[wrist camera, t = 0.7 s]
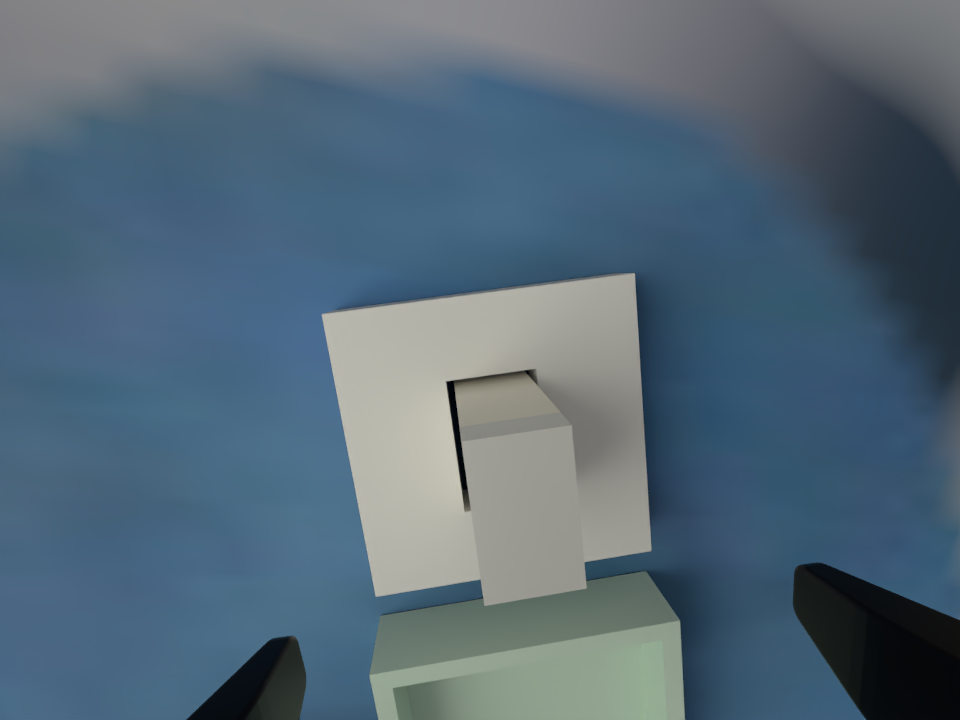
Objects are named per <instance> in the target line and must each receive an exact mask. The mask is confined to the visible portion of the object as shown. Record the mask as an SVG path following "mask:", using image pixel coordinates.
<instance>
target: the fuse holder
mask: <svg viewBox="0 0 960 720" xmlns="http://www.w3.org/2000/svg"><path fill="white" fill-rule="evenodd" d="M322 318H323V324H324V329H325V334H326V339H327V344H328V350H329V355H330V360H331V365H332V371H333V376H334V381H335V386H336V391H337V397H338V402H339V407H340V412H341V417H342V423H343V428H344V433H345V438H346V443H347V449H348V454H349V459H350V464H351V469H352V475H353V480H354V485H355V490H356V496H357V501H358V506H359V511H360V516H361V522H362V527H363V532H364V537H365V542H366V548H367V553H368V558H369V563H370V568H371V574H372V579H373V584H374V589H375V594H376V597H378V596H384V595H390V594H396V593H402V592H408V591H414V590H420V589H426V588H432V587H438V586H444V585H450V584H456V583H462V582H468V581H474V580H480V579H481V578H480V571H479V564H478V557H477V550H476V543H475V536H474V529H473V522H472V514H471V507H470V500H469V493H468V489H466V490H462V483H461V476H460V469H459V462H458V455H457V448H456V441H455V434H454V427H453V420H452V413H451V406H450V399H449V392H448V385H447V381H452V380H460V379H467V378H474V377H481V376H488V375H495V374H502V373H509V372H516V371H523V370H528V371H529V377H530V378H531V379H532V380H533V381H534V382H535V383H536V385H537V386H538V387H539V388H540V389H541V390H542V392H543V393H544V394H545V395H546V396H547V397H548V398H549V400H550V401H551V402H552V403H553V404H554V405H555V406H556V408H557V409H558V410H559V411H560V412H561V413H562V415H563V416H564V417H565V418H566V419H567V420H568V421H569V423H570V424H571V425H572V433H573V444H574V455H575V466H576V477H577V488H578V499H579V510H580V520H581V531H582V542H583V553H584V562H588V561H594V560H600V559H606V558H612V557H618V556H624V555H630V554H636V553H642V552H648V551H651V534H650V518H649V501H648V485H647V468H646V452H645V435H644V419H643V402H642V385H641V369H640V352H639V336H638V319H637V303H636V286H635V273H614V274H607V275H599V276H591V277H584V278H576V279H568V280H561V281H553V282H546V283H538V284H530V285H523V286H515V287H507V288H500V289H492V290H485V291H477V292H469V293H462V294H454V295H446V296H439V297H431V298H424V299H416V300H408V301H401V302H393V303H385V304H378V305H370V306H362V307H355V308H347V309H340V310H333V311H330V312H327V313H324V314H322Z"/></svg>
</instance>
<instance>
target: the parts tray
mask: <svg viewBox="0 0 960 720" xmlns="http://www.w3.org/2000/svg"><path fill="white" fill-rule="evenodd" d="M586 586H587V589H581V590H575V591H569V592H564V593H558V594H552V595H546V596H540V597H534V598H529V599H523V600H517V601H511V602H505V603H499V604H494V605H488V606H484V599H477V600H471V601H465V602H459V603H453V604H447V605H441V606H436V607H430V608H424V609H418V610H412V611H406V612H400V613H394V614H388V615H382V616H380V620H379V625H378V631H377V636H376V642H375V647H374V653H373V658H372V664H371V669H370V680H371V685H372V690H373V695H374V700H375V705H376V710H377V715H378V720H685V712H684V691H683V671H682V650H681V630H680V620H679V618H678V617H677V615H676V614H675V613H674V611H673V610H672V608H671V607H670V605H669V604H668V602H667V601H666V599H665V598H664V597H663V595H662V594H661V592H660V591H659V589H658V588H657V586H656V585H655V583H654V582H653V581H652V579H651V578H650V576H649V575H648V573H647V572H646V571H643V572H637V573H631V574H625V575H619V576H613V577H607V578H602V579H596V580H590V581H586Z"/></svg>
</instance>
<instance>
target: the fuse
mask: <svg viewBox="0 0 960 720" xmlns="http://www.w3.org/2000/svg"><path fill="white" fill-rule="evenodd" d="M454 387H455V395H456V403H457V411H458V419H459V428H460V436H461V444H462V451H463V458H464V465H465V472H466V479H467V486H468V493H469V500H470V507H471V514H472V522H473V529H474V536H475V543H476V550H477V557H478V564H479V571H480V578H481V585H482V592H483V599H484V606H488V605H494V604H499V603H505V602H511V601H517V600H523V599H529V598H534V597H540V596H546V595H552V594H558V593H564V592H569V591H575V590H581V589H587V586H586V575H585V564H584V553H583V542H582V531H581V520H580V510H579V499H578V488H577V477H576V466H575V455H574V444H573V433H572V425H571V424H570V423H569V421H568V420H567V419H566V418H565V417H564V416H563V415H562V413H561V412H560V411H559V410H558V409H557V408H556V406H555V405H554V404H553V403H552V402H551V401H550V400H549V398H548V397H547V396H546V395H545V394H544V393H543V392H542V390H541V389H540V388H539V387H538V386H537V385H536V383H535V382H534V381H533V380H532V379H531V378H530V377H529V375H528V374H527V373H526V372H525V371H524V370H523V371H516V372H509V373H502V374H495V375H488V376H481V377H474V378H467V379H460V380H454Z"/></svg>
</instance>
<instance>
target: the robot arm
mask: <svg viewBox="0 0 960 720" xmlns="http://www.w3.org/2000/svg"><path fill="white" fill-rule="evenodd" d="M793 606H794V610H795V613H796V615H797V618H798V619H799V621H800V622H801V624H802V625H803V627H804V628H805V630H806V631H807V633H808V635H809V636H810V638H811V639H812V641H813V642H814V644H815V645H816V647H817V648H818V650H819V651H820V653H821V654H822V656H823V657H824V659H825V660H826V662H827V663H828V665H829V666H830V668H831V669H832V671H833V672H834V674H835V675H836V677H837V678H838V680H839V681H840V683H841V684H842V686H843V687H844V689H845V690H846V692H847V693H848V695H849V696H850V698H851V699H852V701H853V702H854V703H855V705H856V706H857V708H858V709H859V710H860V712H861V713H862V714H863V716H864V717H865V718H866V720H960V620H958V619H955V618H953V617H950V616H948V615H946V614H943V613H941V612H939V611H936V610H934V609H931V608H929V607H927V606H924V605H922V604H919V603H917V602H915V601H912V600H910V599H907V598H905V597H903V596H900V595H898V594H895V593H893V592H891V591H888V590H886V589H883V588H881V587H879V586H876V585H874V584H871V583H869V582H867V581H864V580H862V579H859V578H857V577H855V576H852V575H850V574H847V573H845V572H843V571H840V570H838V569H835V568H833V567H831V566H828V565H826V564H823V563H810V564H803V565H799V566H797V567H796V569H795V572H794V590H793ZM305 688H306V672H305V668H304V664H303V660H302V656H301V651H300V647H299V643H298V641H297V639H296V637H294V636H286V637H279V638H273V639H271V640H269V641H268V642H267V643H266V644H265V645H264V646H263V647H262V648H261V649H260V650H258V651H257V652H256V653H255V654H254V655H253V656H252V657H251V658H250V659H249V660H248V661H247V662H246V663H245V664H244V665H243V666H242V667H241V668H240V669H239V670H238V671H237V672H236V673H235V674H233V675H232V676H231V677H230V678H229V679H228V680H227V681H226V682H225V683H224V684H223V685H222V686H221V687H220V688H219V689H218V690H217V691H216V692H215V693H214V694H213V695H212V696H211V697H210V698H208V699H207V700H206V701H205V702H204V703H203V704H202V705H201V706H200V707H199V708H198V709H197V710H196V711H195V712H194V713H193V714H192V715H191V716H190V717H189V718H188V719H187V720H299V719H300V714H301V709H302V704H303V699H304V694H305Z"/></svg>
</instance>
